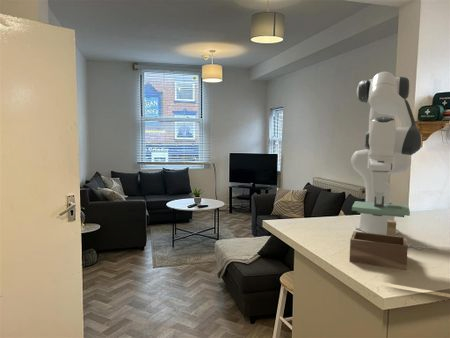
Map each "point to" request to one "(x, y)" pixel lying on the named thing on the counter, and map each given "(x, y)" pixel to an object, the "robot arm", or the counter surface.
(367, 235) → the toolbox
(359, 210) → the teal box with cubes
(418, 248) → the pliers
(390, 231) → the wooden block
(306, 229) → the counter surface
